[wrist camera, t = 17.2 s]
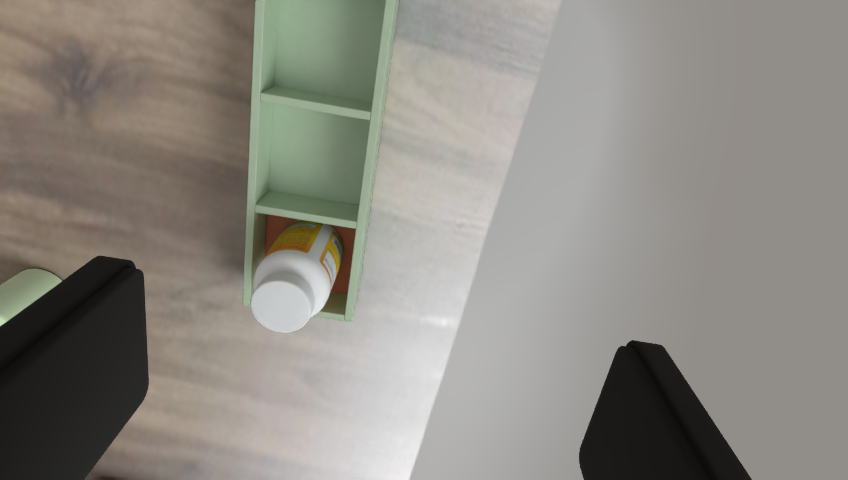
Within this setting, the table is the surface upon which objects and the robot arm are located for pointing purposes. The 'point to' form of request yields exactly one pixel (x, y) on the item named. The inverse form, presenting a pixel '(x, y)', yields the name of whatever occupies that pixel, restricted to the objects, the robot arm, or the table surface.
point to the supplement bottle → (296, 275)
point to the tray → (317, 128)
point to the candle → (24, 291)
